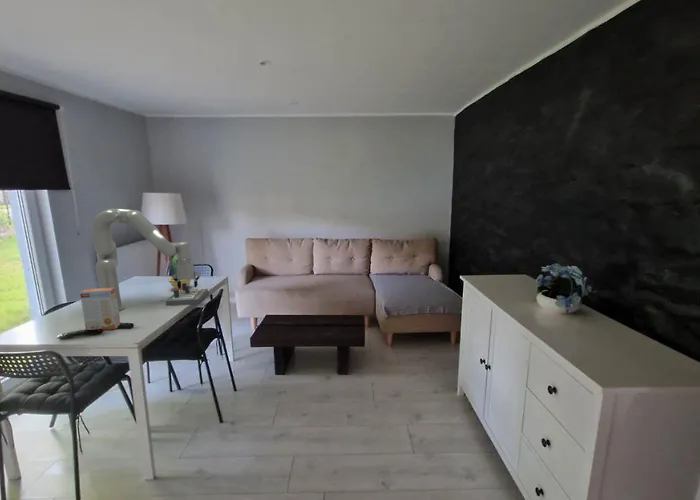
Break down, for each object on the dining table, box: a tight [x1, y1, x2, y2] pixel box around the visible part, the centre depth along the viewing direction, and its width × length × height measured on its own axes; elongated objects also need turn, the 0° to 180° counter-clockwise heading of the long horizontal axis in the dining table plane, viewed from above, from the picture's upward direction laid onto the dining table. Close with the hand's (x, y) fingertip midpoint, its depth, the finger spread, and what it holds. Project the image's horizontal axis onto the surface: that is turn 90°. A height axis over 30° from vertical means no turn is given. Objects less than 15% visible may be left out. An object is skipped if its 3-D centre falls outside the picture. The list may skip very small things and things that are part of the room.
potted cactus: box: [168, 254, 193, 291], centre depth 249 cm, size 15×15×25 cm
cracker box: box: [79, 287, 121, 331], centre depth 179 cm, size 14×6×21 cm, turn 96°
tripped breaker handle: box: [185, 285, 191, 293], centre depth 226 cm, size 2×2×4 cm
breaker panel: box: [165, 283, 209, 307], centre depth 227 cm, size 23×19×8 cm
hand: (187, 287), depth 226 cm, fingers open, 9 cm apart
